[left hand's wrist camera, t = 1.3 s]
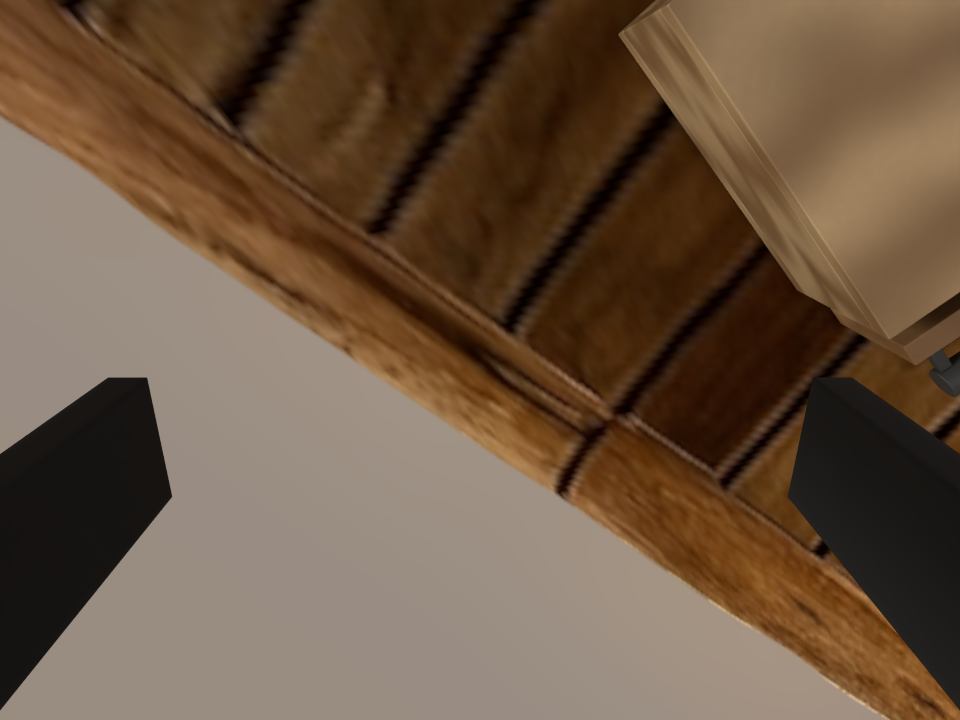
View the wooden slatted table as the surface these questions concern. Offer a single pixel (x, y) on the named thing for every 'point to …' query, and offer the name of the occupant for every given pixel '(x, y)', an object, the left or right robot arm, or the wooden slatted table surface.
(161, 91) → the wooden slatted table surface
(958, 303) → the drawer
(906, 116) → the cabinet
